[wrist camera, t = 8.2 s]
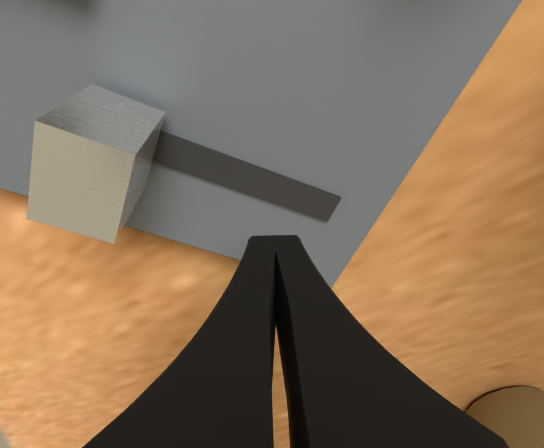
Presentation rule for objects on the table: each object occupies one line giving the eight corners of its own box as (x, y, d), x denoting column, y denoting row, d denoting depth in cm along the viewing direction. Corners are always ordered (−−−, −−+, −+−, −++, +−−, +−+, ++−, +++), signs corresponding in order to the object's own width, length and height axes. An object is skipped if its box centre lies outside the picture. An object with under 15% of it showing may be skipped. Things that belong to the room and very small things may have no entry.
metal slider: (165, 111, 13) (135, 155, 10) (146, 185, 14) (114, 244, 11) (92, 84, 12) (34, 120, 9) (80, 163, 14) (26, 218, 10)
